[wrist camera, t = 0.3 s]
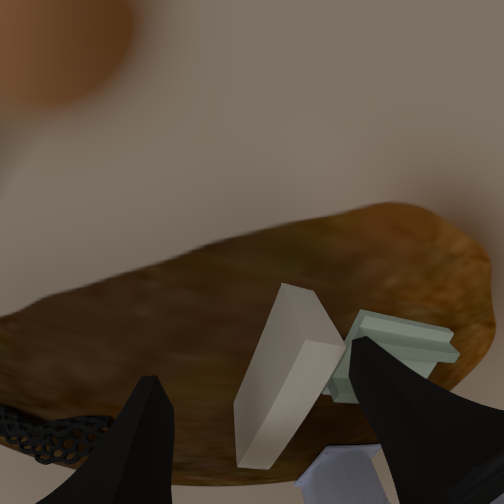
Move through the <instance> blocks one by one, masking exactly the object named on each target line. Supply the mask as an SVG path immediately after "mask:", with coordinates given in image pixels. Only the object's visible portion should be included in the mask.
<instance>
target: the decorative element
mask: <svg viewBox="0 0 504 504" xmlns="http://www.w3.org/2000/svg"><path fill="white" fill-rule="evenodd" d="M10 419H13V420H10ZM112 423H113V422H112V420H111V419H110V418H109V416H78V417H72V418H67V419H59V420H54V421H50V422H47V423H45V424H43V425H34V424H33V423H31V422H30V421H29V420H27V419H25V418H24V417H23V416H21V415H19V414H18V413H16V412H14V411H12V410H10V409H9V408H7V407H5V406H3V405H0V436H3V437H5V438H6V441H7V442H8V443H9V444H19V450H20V451H21V452H23V453H25V454H34V455H35V460H36V461H37V462H39V463H41V464H44V465H48V464H51V463H54V462H64V463H65V464H69V465H70V464H73V463H75V462H77V461H78V460H79V459H80V458H81V457H83V456H88V457H89V456H90V455H91V454H92V453H93V452H92V453H91V450H92V449H93V448H94V447H95V446H98V445H99V443H100V442H101V441H102V439H103V438H104V436H105V435H106V434H107V432H108V431H109V429H110V428H111V426H112V425H110V424H112ZM15 424H16V425H15ZM88 424H90V425H93V426H89V427H87V426H86V425H88ZM102 427H106V428H108V431H107V432H100V431H99V429H101V428H102ZM25 428H28V430H26V429H25ZM63 428H64V429H65V430H64V431H59V432H58V431H57V430H60V429H63ZM11 429H13V430H12V431H11ZM77 430H80V431H81V432H83V433H84V434H83V437H82V438H78V439H77V438H76V437H74V436H73V431H77ZM8 433H9V434H8ZM93 433H95V434H96V435H98V438H97V440H96V441H93V442H91V441H89V440H88V439H87V438H88V435H89V434H93ZM32 435H34V437H35V438H32ZM46 436H47V438H46ZM13 437H17V439H16V440H10V439H11V438H13ZM23 437H26V438H27V441H24V442H21V439H22V438H23ZM53 437H55V438H57V439H59V441H58V445H54V444H53V442H52V438H53ZM68 439H70V440H72V441H73V442H74V443H73V446H72V448H68V449H66V448H64V447H63V443H64V441H65V440H68ZM47 443H48V444H49V446H50V447H51V448H50V450H49V451H47V450H46V444H47ZM80 443H86V444H87V445H88V446H87V447H86V449H85V450H84V451H81V452H80V451H78V450H77V448H78V446H79V444H80ZM28 445H30V446H31V449H24V448H23V447H24V446H28ZM39 445H40V446H41V449H42V450H41V451H38V452H37V451H35V448H36V447H37V446H39ZM59 449H60V450H61V451H62V452H63V453H62V455H61V457H54V455H53V454H54V452H55V451H56V450H59ZM71 453H75V454H76V455H75V456H74V457H73V458H72V459H69V460H67V459H66V457H67V456H68V454H71ZM42 455H48V456H49V457H50V458H49V459H47V460H43V459H40V458H39V457H40V456H42Z"/></svg>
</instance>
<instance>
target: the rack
mask: <svg viewBox="0 0 504 504" xmlns="http://www.w3.org/2000/svg"><path fill="white" fill-rule="evenodd" d="M453 335H454V333H453V332H452V331H451V330H450V329H448V328H444V327H439V326H434V325H429V324H425V323H420V322H415V321H411V320H406V319H401V318H397V317H392V316H388V315H383V314H379V313H375V312H370V311H366V310H362V309H360V311H359V313H358V315H357V317H356V319H355V321H354V323H353V325H352V327H351V329H350V331H349V333H348V335H347V337H346V339H345V341H344V343H345V345H346V347H347V348H346V349H345V351H344V353H343V355H342V357H341V359H340V360H339V362H338V364H337V366H336V368H335V369H334V371H333V373H332V375H331V376H330V378H329V380H328V381H327V383H326V385H325V386H324V388H323V390H322V394H326V395H331V396H332V399H333V401H334V402H341V403H359V402H358V400H357V398H356V396H355V393H354V391H353V388H352V385H351V382H350V379H349V377H348V374H349V365H350V355H351V344H352V340H353V339H357V338H360V337H364V336H368V337H369V338H371V339H372V340H373V341H374V342H376V343H377V344H378V345H380V346H381V347H382V348H383V349H385V350H386V351H387V352H389V353H390V354H391V355H393V356H394V357H395V358H397V359H398V360H399V361H401V362H402V363H403V364H405V365H406V366H408V367H409V368H410V369H412V370H413V371H415V372H416V373H418V374H419V375H421V376H423V377H424V378H426V379H427V377H428V376H429V374H430V373H431V371H432V370H433V368H434V366H435V365H436V363H437V362H449V363H455V362H456V360H457V358H458V357H459V355H460V353H459V352H458V351H457V350H456V349H455V348H454V347H453V346H452V345H451V344H450V343H449V342H450V340H451V338H452V336H453Z"/></svg>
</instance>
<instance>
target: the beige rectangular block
mask: <svg viewBox="0 0 504 504" xmlns="http://www.w3.org/2000/svg"><path fill="white" fill-rule="evenodd" d="M346 348H347V347H346V345H345V343H344V341H343V340H342V338H341V336H340V335H339V333H338V331H337V330H336V328H335V326H334V324H333V323H332V321H331V319H330V318H329V316H328V314H327V313H326V311H325V309H324V308H323V306H322V304H321V303H320V301H319V299H318V298H317V296H316V294H315V293H314V291H311V290H307V289H304V288H300V287H296V286H292V285H288V284H284V283H282V284H281V287H280V290H279V292H278V295H277V297H276V300H275V303H274V305H273V308H272V310H271V313H270V315H269V318H268V321H267V323H266V326H265V328H264V331H263V333H262V336H261V338H260V341H259V343H258V346H257V348H256V351H255V353H254V355H253V358H252V360H251V363H250V365H249V368H248V370H247V372H246V375H245V377H244V380H243V382H242V384H241V387H240V389H239V392H238V394H237V396H236V399H235V401H234V421H235V438H236V455H237V467H244V468H256V469H270V467H271V466H272V465H273V463H274V462H275V461H276V459H277V458H278V456H279V455H280V454H281V452H282V451H283V450H284V448H285V447H286V445H287V444H288V442H289V441H290V440H291V438H292V437H293V435H294V434H295V432H296V431H297V429H298V428H299V426H300V425H301V423H302V422H303V420H304V419H305V417H306V416H307V414H308V412H309V411H310V409H311V408H312V406H313V405H314V403H315V401H316V400H317V398H318V396H319V395H320V393H321V392H322V390H323V388H324V386H325V385H326V383H327V381H328V380H329V378H330V376H331V375H332V373H333V371H334V369H335V368H336V366H337V364H338V362H339V360H340V359H341V357H342V355H343V353H344V351H345V349H346Z"/></svg>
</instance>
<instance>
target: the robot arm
mask: <svg viewBox="0 0 504 504" xmlns="http://www.w3.org/2000/svg"><path fill="white" fill-rule="evenodd" d="M348 377H349V379H350V382H351V385H352V388H353V391H354V393H355V396H356V398H357V400H358V402H359V404H360V406H361V408H362V410H363V412H364V414H365V416H366V418H367V420H368V421H369V423H370V425H371V427H372V429H373V431H374V433H375V435H376V437H377V439H378V441H379V443H380V444H370V445H346V446H327V447H325V448H324V450H323V451H322V452H321V453H320V454H319V456H318V457H317V458H316V459H315V460H314V462H313V463H312V464H311V465H310V466H309V467H308V469H307V470H306V471H305V472H304V473H303V474H302V475H301V476H300V478H299V479H298V480H297V481H296V482H295V483H294V486H295V487H301V490H302V494H303V498H304V503H305V504H391V503H390V502H388V499H387V497H386V494H385V492H384V490H383V487H382V485H381V482H380V480H379V478H378V475H377V473H376V471H375V469H374V466H373V464H372V461H371V458H372V457H373V456H374V455H375V454H376V453H377V452H378V451H379V450H380V449H381V447H382V449H383V452H384V455H385V457H386V460H387V463H388V466H389V469H390V472H391V475H392V478H393V481H394V484H395V488H396V491H397V495H398V499H399V503H400V504H504V410H499V409H495V408H492V407H488V406H485V405H481V404H478V403H476V402H473V401H470V400H468V399H465V398H463V397H460V396H458V395H455V394H453V393H451V392H449V391H447V390H445V389H443V388H441V387H440V386H438V385H436V384H434V383H432V382H431V381H429V380H427V379H426V378H424V377H423V376H421V375H419V374H418V373H416V372H415V371H413V370H412V369H410V368H409V367H408V366H406V365H405V364H403V363H402V362H401V361H399V360H398V359H397V358H395V357H394V356H393V355H391V354H390V353H389V352H387V351H386V350H385V349H383V348H382V347H381V346H380V345H378V344H377V343H376V342H374V341H373V340H372V339H371V338H369V337H368V336H364V337H360V338H357V339H353V340H352V344H351V355H350V365H349V374H348ZM174 434H175V428H174V408H173V406H172V404H171V402H170V401H169V399H168V397H167V395H166V393H165V391H164V389H163V387H162V385H161V383H160V381H159V379H158V377H157V375H155V376H143V377H141V378H140V380H139V381H138V383H137V385H136V386H135V388H134V390H133V392H132V393H131V395H130V397H129V398H128V400H127V402H126V404H125V405H124V407H123V409H122V410H121V412H120V413H119V415H118V417H117V418H116V420H115V422H114V423H113V425H112V426H111V428H110V429H109V431H108V432H107V434H106V435H105V436H104V438H103V439H102V441H101V442H100V443H99V445H98V446H97V447H96V449H95V450H94V451H93V453H92V454H91V455H90V456H89V457H88V459H87V460H86V461H85V462H84V463H83V464H82V465H81V466H80V467H79V468H78V469H77V470H76V471H75V472H74V473H73V474H72V476H70V478H68V479H67V480H66V481H65V482H64V483H63V484H61V485H60V486H59V487H58V488H57V489H55V490H54V491H53V492H52V493H50V494H49V495H48V496H46V497H45V498H43V499H42V500H40V501H39V502H37V503H36V504H172V495H171V475H172V461H173V447H174Z"/></svg>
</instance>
